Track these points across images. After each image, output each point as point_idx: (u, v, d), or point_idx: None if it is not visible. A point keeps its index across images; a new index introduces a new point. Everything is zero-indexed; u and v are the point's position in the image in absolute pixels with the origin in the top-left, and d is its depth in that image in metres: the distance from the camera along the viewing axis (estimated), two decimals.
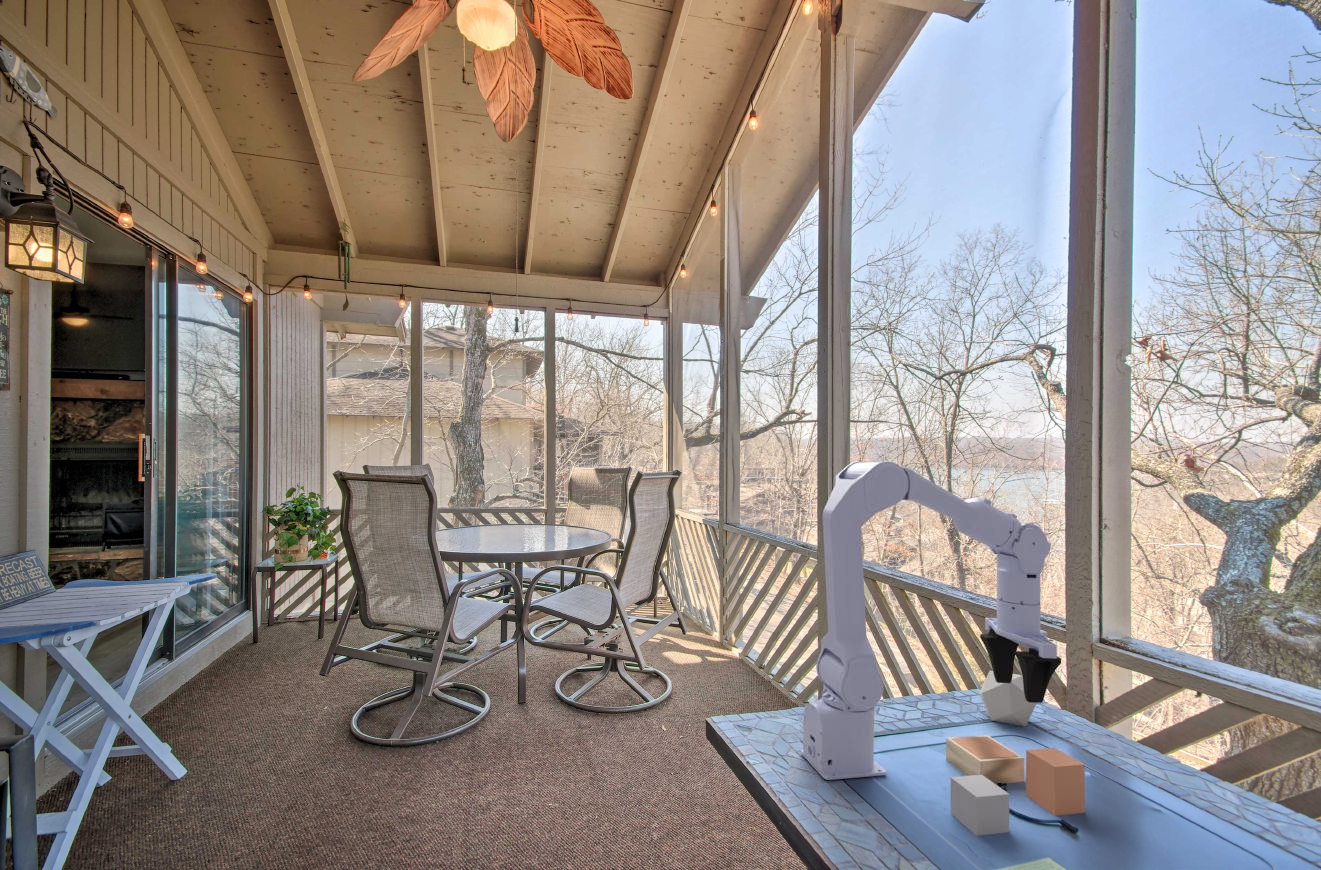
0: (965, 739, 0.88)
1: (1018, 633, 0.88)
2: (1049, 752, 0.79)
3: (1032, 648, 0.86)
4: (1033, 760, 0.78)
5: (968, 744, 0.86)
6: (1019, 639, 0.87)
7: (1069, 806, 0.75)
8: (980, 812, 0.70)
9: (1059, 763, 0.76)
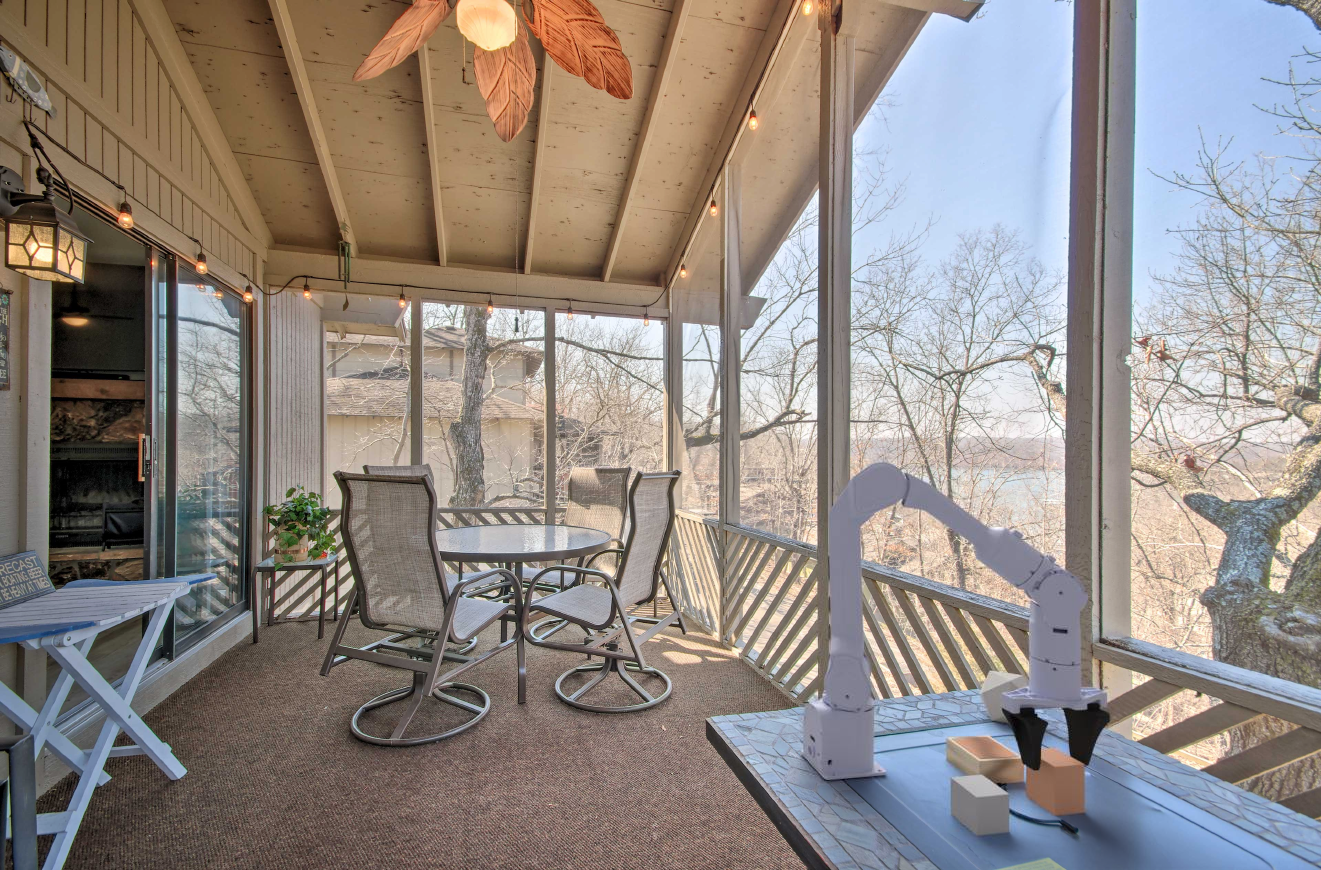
0: (965, 739, 0.88)
1: (1029, 688, 0.79)
2: (1049, 752, 0.79)
3: None
4: None
5: (968, 744, 0.86)
6: (1020, 691, 0.79)
7: (1069, 806, 0.75)
8: (980, 812, 0.70)
9: (1058, 763, 0.76)
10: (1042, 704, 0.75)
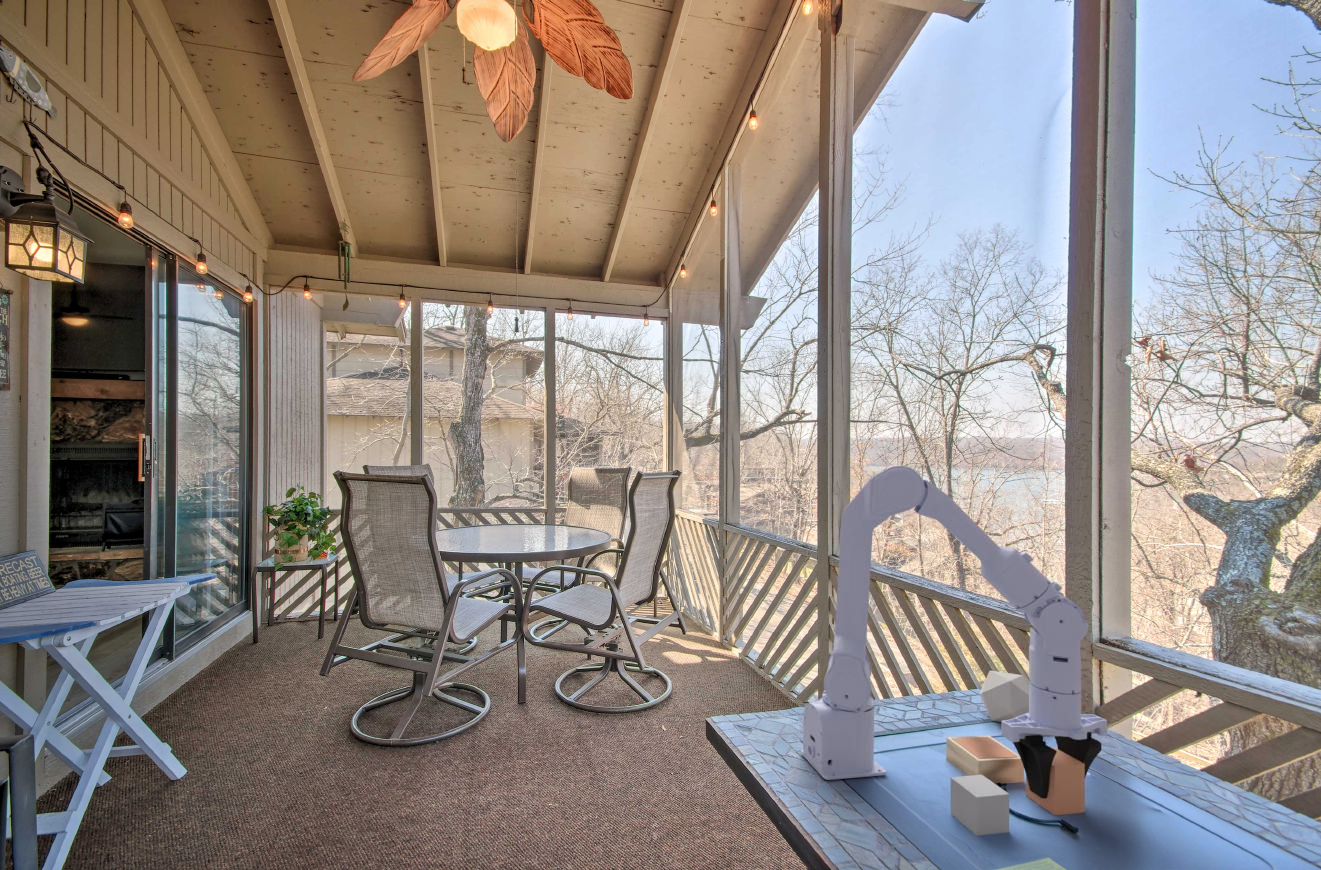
0: (965, 739, 0.88)
1: (1029, 715, 0.79)
2: None
3: None
4: None
5: (968, 744, 0.86)
6: (1019, 719, 0.79)
7: (1069, 806, 0.75)
8: (980, 812, 0.70)
9: (1059, 763, 0.76)
10: (1042, 733, 0.75)
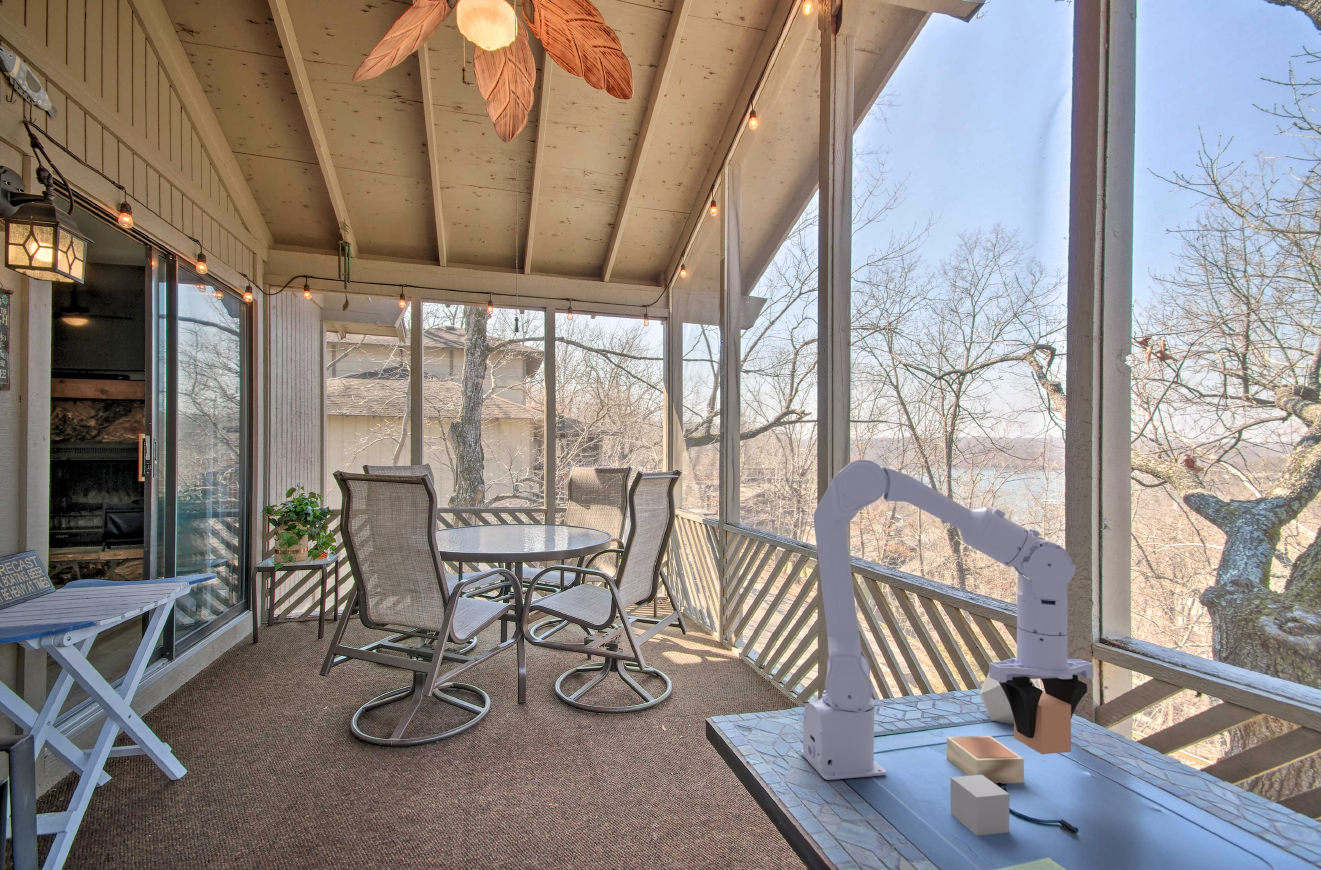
0: (966, 738, 0.88)
1: (1017, 659, 0.80)
2: None
3: None
4: None
5: (967, 744, 0.86)
6: (1007, 662, 0.81)
7: (1055, 745, 0.77)
8: (980, 812, 0.70)
9: (1045, 704, 0.77)
10: (1028, 673, 0.77)
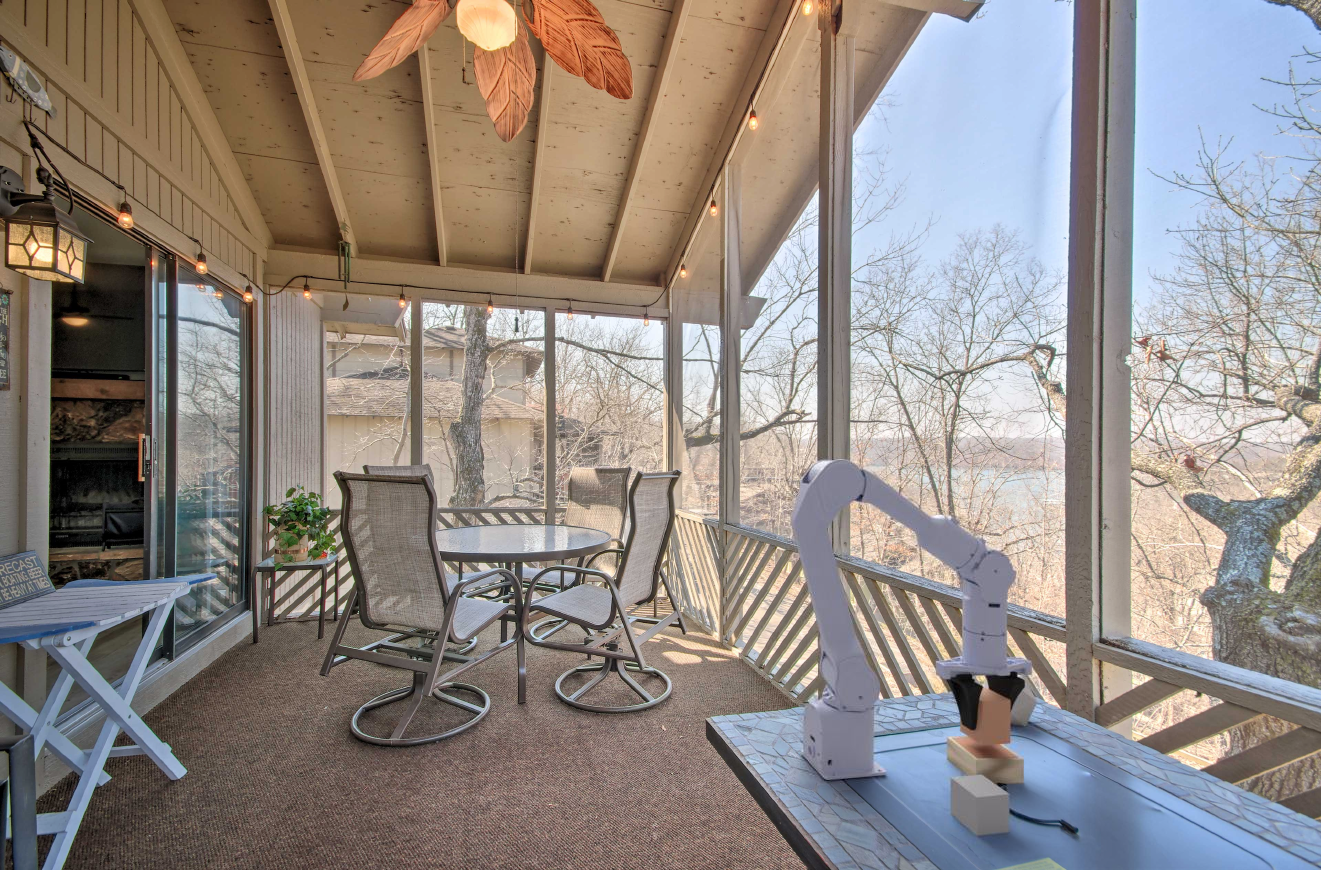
0: (966, 738, 0.88)
1: (962, 657, 0.87)
2: None
3: None
4: None
5: (968, 744, 0.86)
6: (953, 660, 0.87)
7: (996, 737, 0.83)
8: (980, 812, 0.70)
9: (987, 699, 0.84)
10: (970, 671, 0.84)
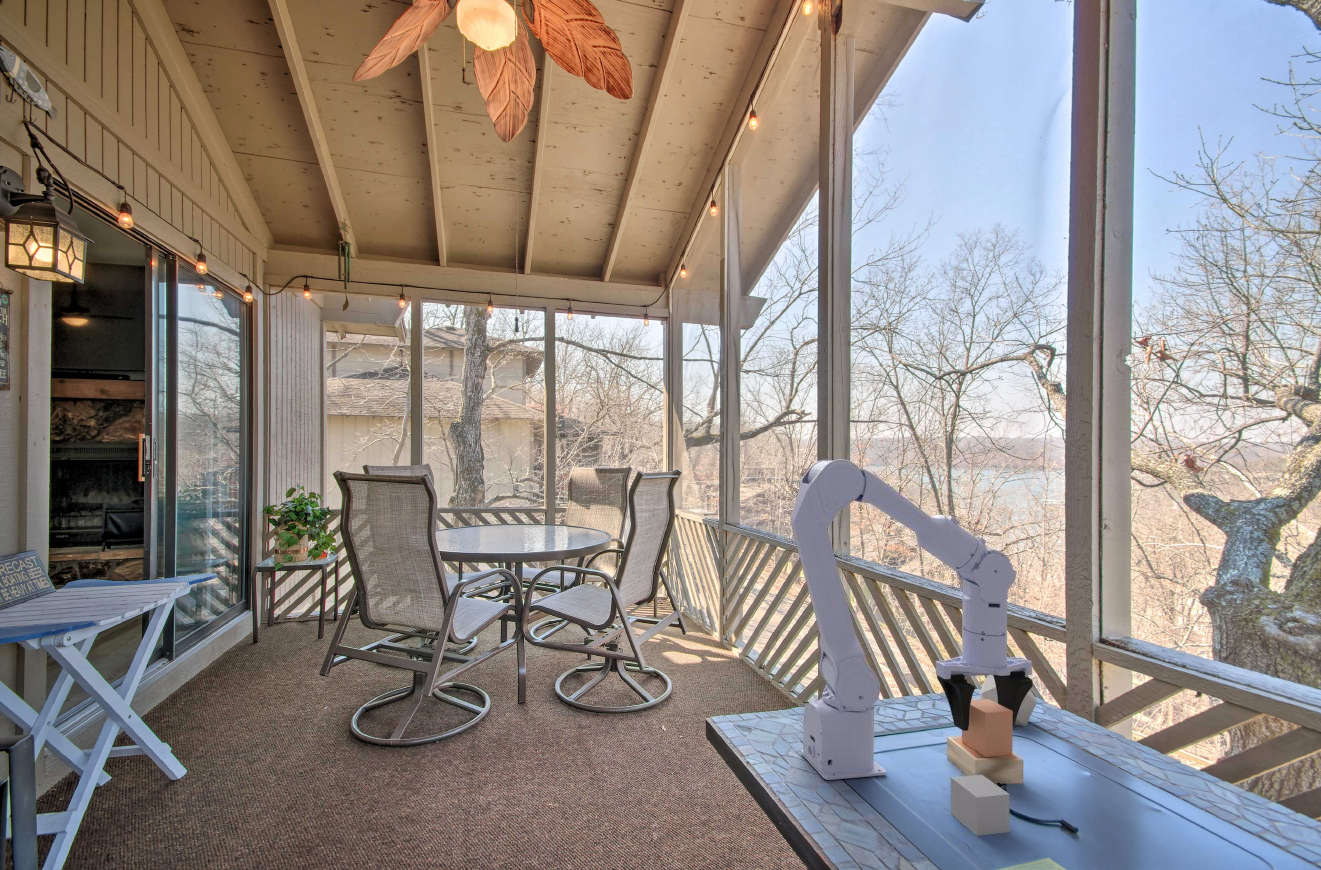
0: None
1: (962, 657, 0.87)
2: (983, 702, 0.87)
3: None
4: None
5: None
6: (953, 660, 0.87)
7: (998, 748, 0.83)
8: (980, 812, 0.70)
9: (989, 710, 0.84)
10: (970, 671, 0.84)
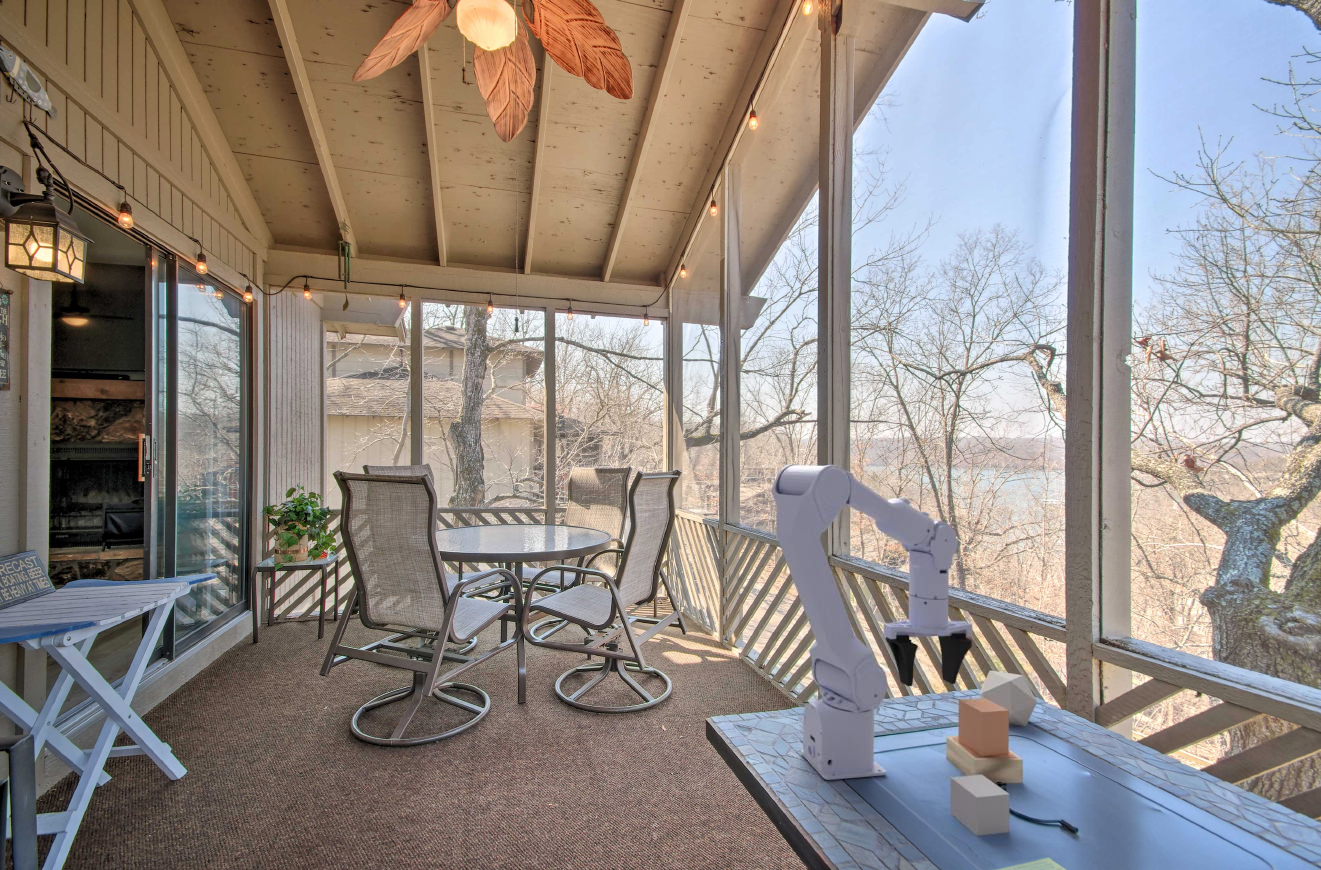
0: None
1: (908, 620, 0.95)
2: (979, 701, 0.87)
3: None
4: (964, 708, 0.86)
5: None
6: (901, 623, 0.95)
7: (994, 747, 0.83)
8: (980, 812, 0.70)
9: (986, 709, 0.84)
10: (914, 631, 0.91)
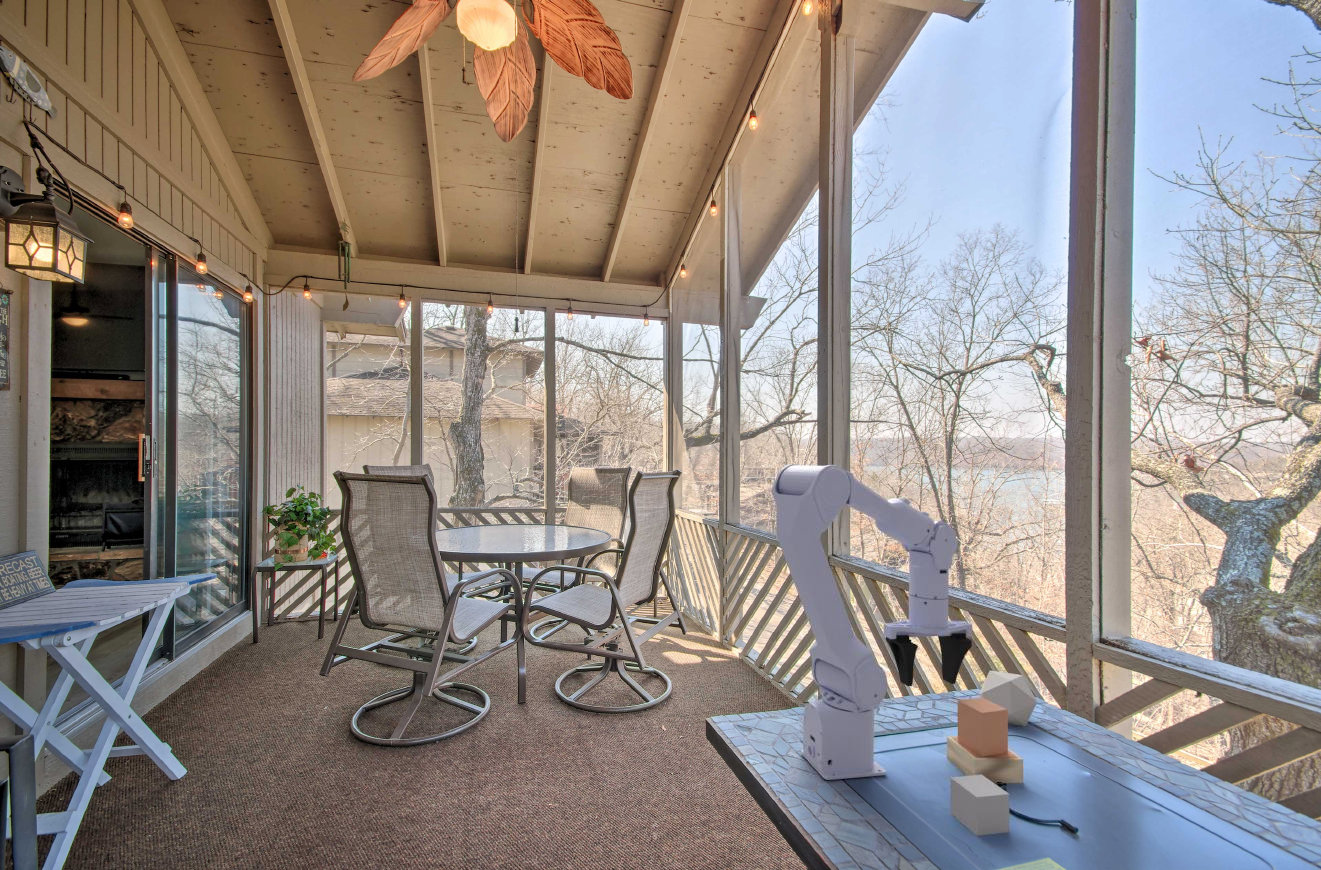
0: None
1: (908, 620, 0.95)
2: (977, 701, 0.87)
3: None
4: (963, 708, 0.86)
5: None
6: (901, 623, 0.95)
7: (994, 747, 0.83)
8: (980, 812, 0.70)
9: (985, 709, 0.84)
10: (914, 631, 0.91)
